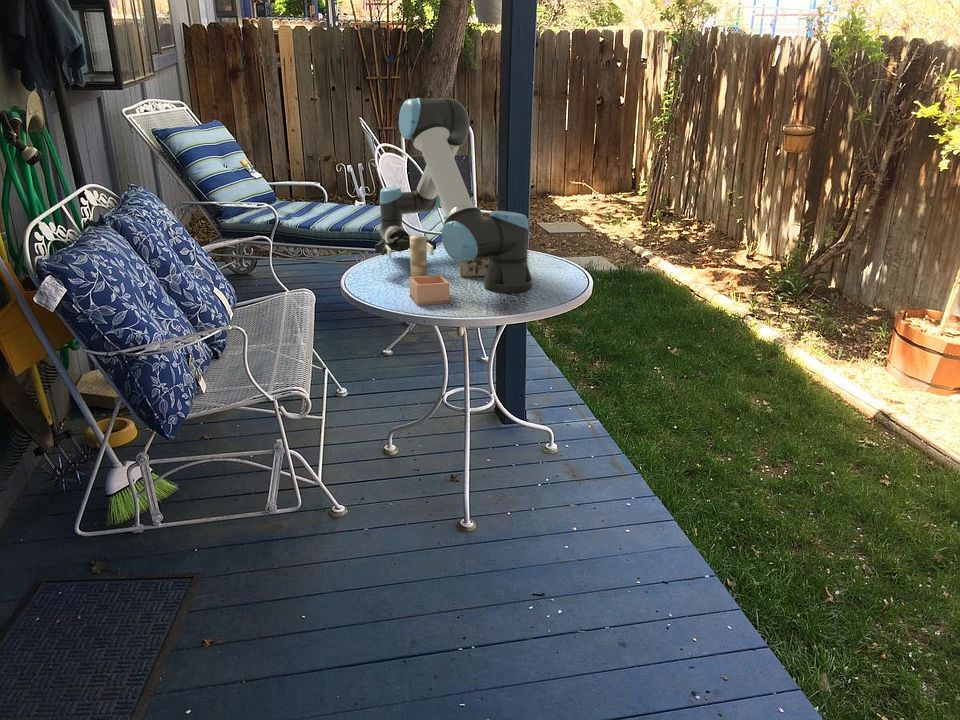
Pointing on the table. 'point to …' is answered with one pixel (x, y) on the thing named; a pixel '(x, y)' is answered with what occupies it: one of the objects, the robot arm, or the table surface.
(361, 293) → the table surface
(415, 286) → the box
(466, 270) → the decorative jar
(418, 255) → the peg
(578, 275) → the table surface
